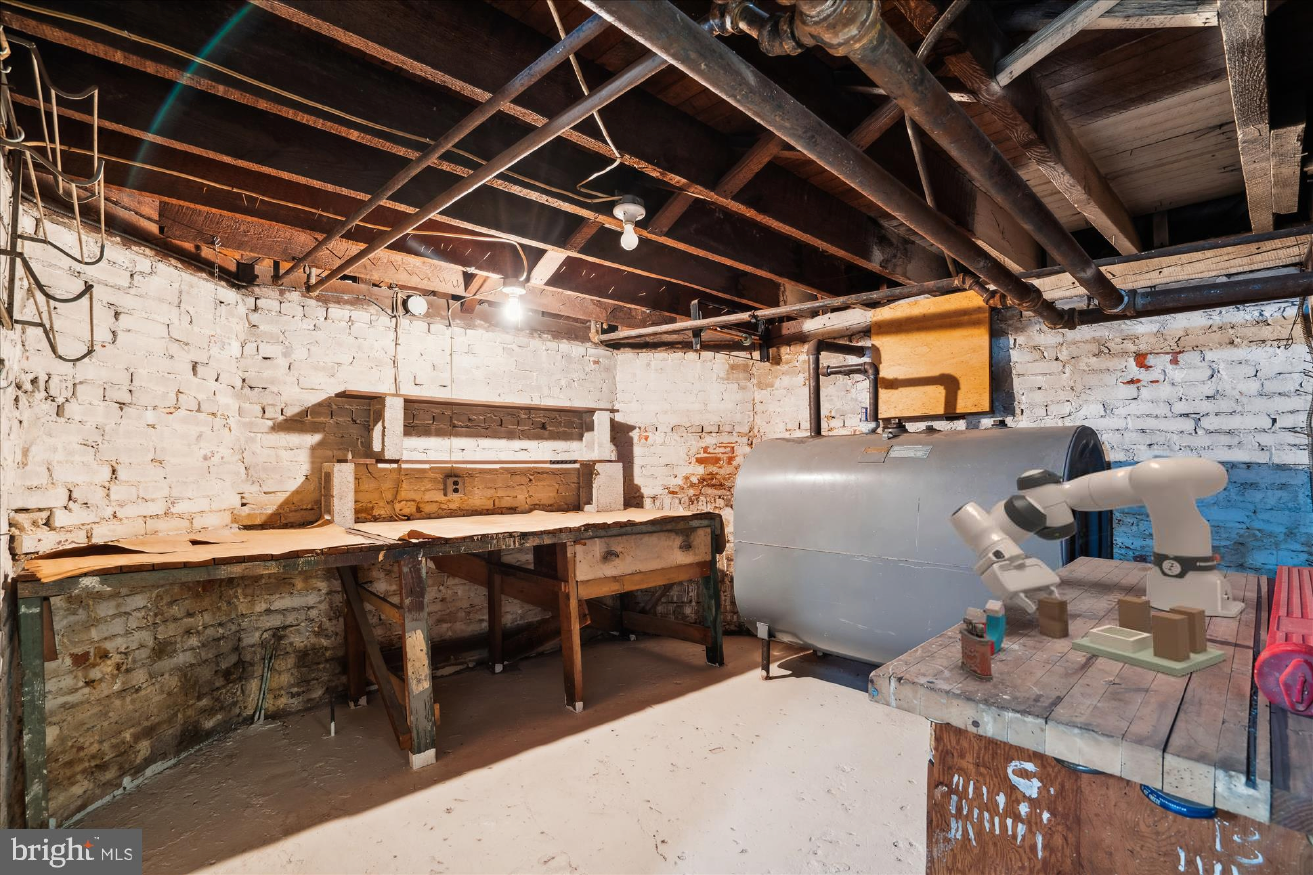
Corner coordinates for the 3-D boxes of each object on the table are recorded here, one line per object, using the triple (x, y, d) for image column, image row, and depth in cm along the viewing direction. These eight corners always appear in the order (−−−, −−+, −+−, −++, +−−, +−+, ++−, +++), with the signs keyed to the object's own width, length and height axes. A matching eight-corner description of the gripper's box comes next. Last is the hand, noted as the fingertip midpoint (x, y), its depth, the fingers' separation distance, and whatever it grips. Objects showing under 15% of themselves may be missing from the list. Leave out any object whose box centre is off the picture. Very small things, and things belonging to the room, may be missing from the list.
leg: (1050, 631, 132) (1048, 596, 132) (1068, 636, 128) (1067, 600, 129) (1039, 634, 130) (1037, 598, 130) (1058, 639, 127) (1056, 602, 127)
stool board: (1119, 634, 128) (1116, 592, 128) (1225, 659, 112) (1222, 610, 112) (1071, 648, 120) (1069, 603, 121) (1179, 677, 104) (1176, 624, 104)
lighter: (997, 681, 105) (995, 626, 105) (979, 681, 105) (976, 626, 105) (974, 665, 113) (971, 614, 113) (956, 665, 113) (954, 614, 113)
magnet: (993, 644, 124) (991, 598, 124) (1007, 648, 122) (1005, 600, 122) (967, 657, 117) (964, 608, 117) (981, 660, 115) (978, 610, 115)
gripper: (1021, 562, 146) (1064, 609, 137) (968, 571, 137) (1010, 622, 128) (1039, 546, 142) (1084, 594, 133) (985, 555, 133) (1029, 607, 124)
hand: (1047, 608), depth 130 cm, fingers open, 8 cm apart
